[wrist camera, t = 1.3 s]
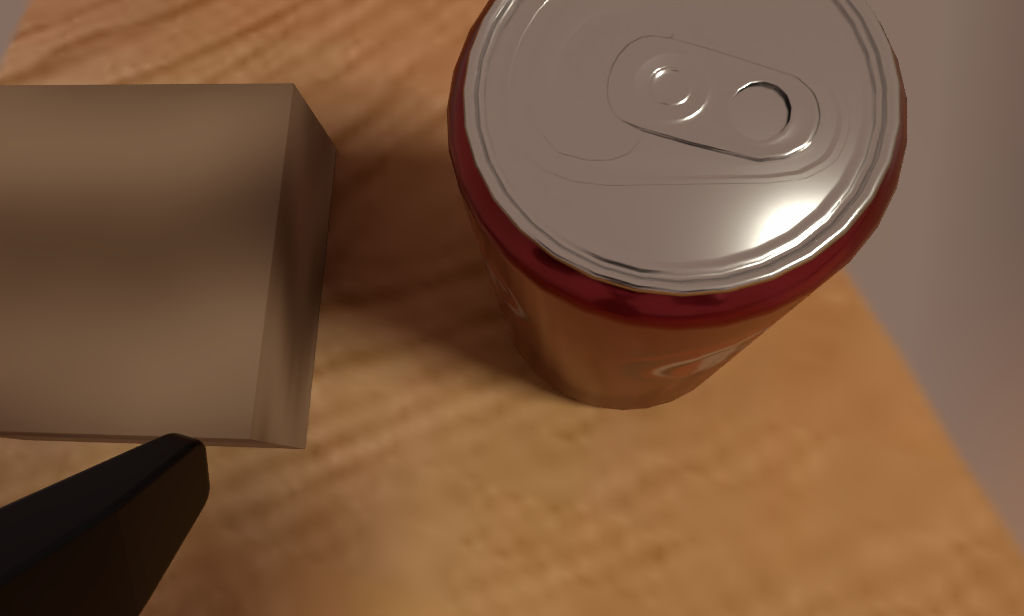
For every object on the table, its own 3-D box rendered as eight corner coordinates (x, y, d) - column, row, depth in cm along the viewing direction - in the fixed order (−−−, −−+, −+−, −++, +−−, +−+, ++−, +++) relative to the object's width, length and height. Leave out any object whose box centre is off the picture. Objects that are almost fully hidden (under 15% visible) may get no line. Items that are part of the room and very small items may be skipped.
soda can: (465, 355, 22) (359, 206, 11) (558, 155, 24) (552, -162, 12) (688, 452, 21) (835, 401, 10) (772, 236, 23) (987, -33, 11)
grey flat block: (305, 448, 22) (250, 439, 18) (25, 439, 23) (-86, 428, 19) (336, 148, 25) (293, 83, 21) (82, 148, 25) (-4, 85, 21)
